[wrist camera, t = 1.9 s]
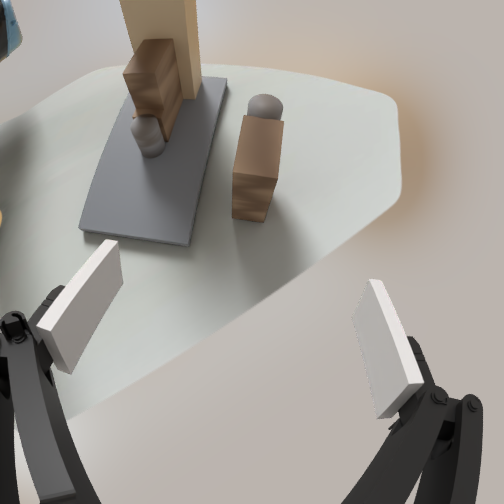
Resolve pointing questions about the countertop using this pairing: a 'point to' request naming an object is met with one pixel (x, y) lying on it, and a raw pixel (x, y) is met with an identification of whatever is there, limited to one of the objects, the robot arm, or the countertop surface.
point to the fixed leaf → (154, 94)
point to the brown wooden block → (257, 158)
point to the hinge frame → (176, 150)
